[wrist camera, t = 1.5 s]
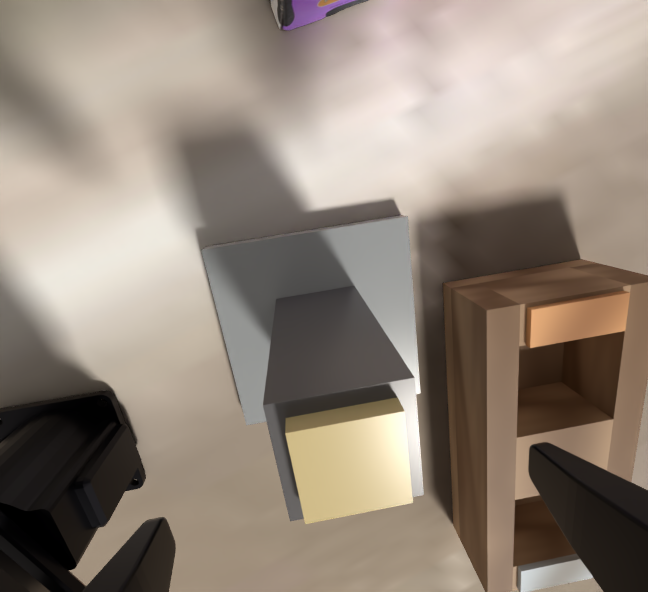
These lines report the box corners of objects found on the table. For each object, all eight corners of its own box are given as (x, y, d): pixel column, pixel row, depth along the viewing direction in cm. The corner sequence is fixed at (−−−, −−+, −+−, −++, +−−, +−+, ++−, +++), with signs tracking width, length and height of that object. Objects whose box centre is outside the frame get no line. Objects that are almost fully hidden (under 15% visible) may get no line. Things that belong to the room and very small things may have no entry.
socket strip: (453, 525, 25) (490, 602, 20) (442, 283, 19) (490, 312, 15) (565, 502, 25) (626, 573, 20) (586, 258, 20) (677, 280, 15)
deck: (248, 414, 20) (246, 425, 20) (205, 246, 17) (201, 250, 16) (414, 383, 21) (420, 393, 20) (401, 215, 18) (407, 216, 17)
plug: (290, 368, 19) (290, 541, 10) (276, 298, 17) (260, 420, 8) (363, 355, 19) (431, 512, 10) (354, 285, 18) (423, 390, 9)
